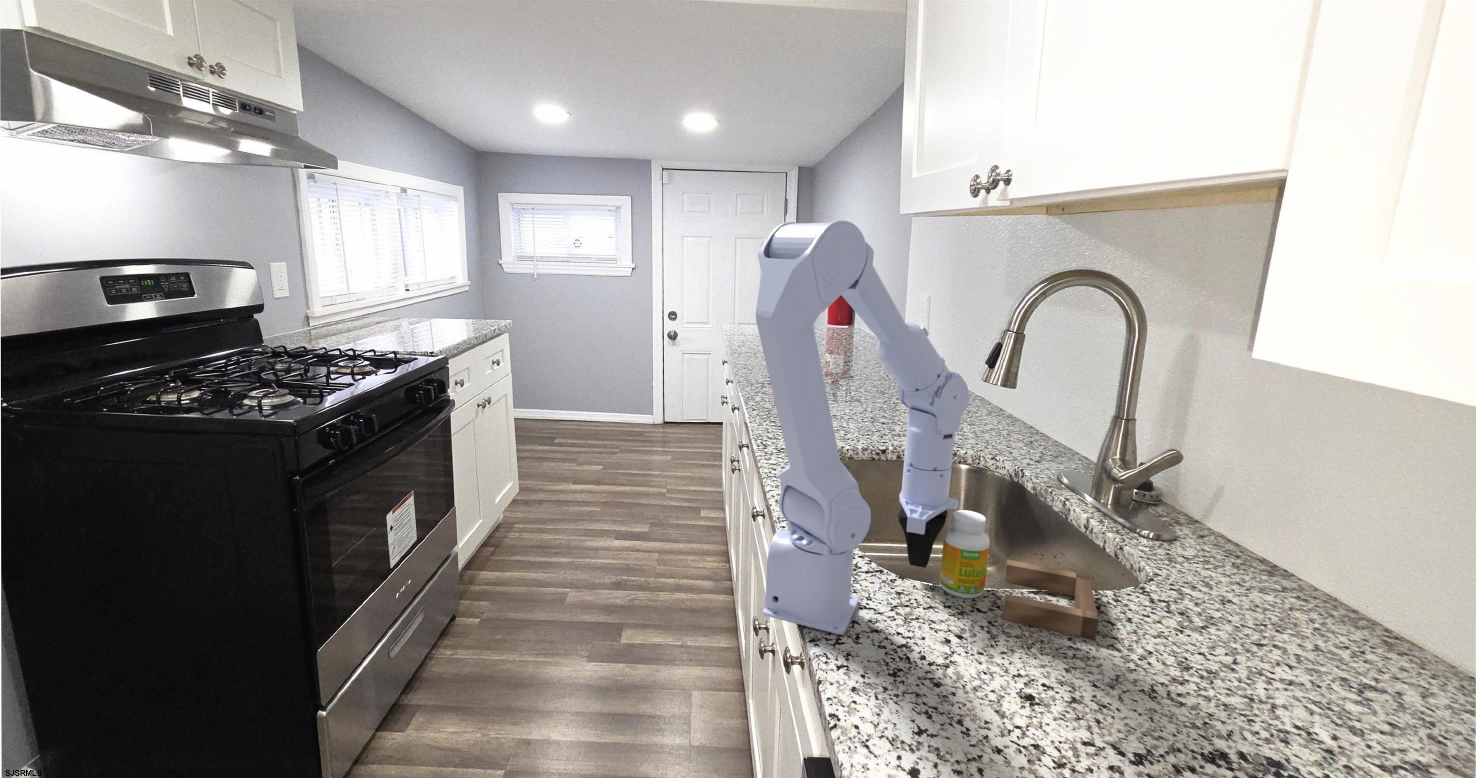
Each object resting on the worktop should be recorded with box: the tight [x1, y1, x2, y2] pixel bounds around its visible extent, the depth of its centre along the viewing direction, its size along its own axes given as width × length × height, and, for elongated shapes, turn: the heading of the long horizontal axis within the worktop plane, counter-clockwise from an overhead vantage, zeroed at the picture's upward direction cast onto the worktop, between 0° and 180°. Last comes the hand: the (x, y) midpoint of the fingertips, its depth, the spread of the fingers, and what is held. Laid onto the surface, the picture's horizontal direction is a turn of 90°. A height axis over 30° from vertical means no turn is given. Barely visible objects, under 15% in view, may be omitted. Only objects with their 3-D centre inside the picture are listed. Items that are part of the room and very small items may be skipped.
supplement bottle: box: [939, 509, 991, 599], centre depth 81 cm, size 5×5×10 cm
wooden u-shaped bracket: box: [1002, 559, 1099, 641], centre depth 78 cm, size 10×11×2 cm
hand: (918, 564), depth 84 cm, fingers closed
